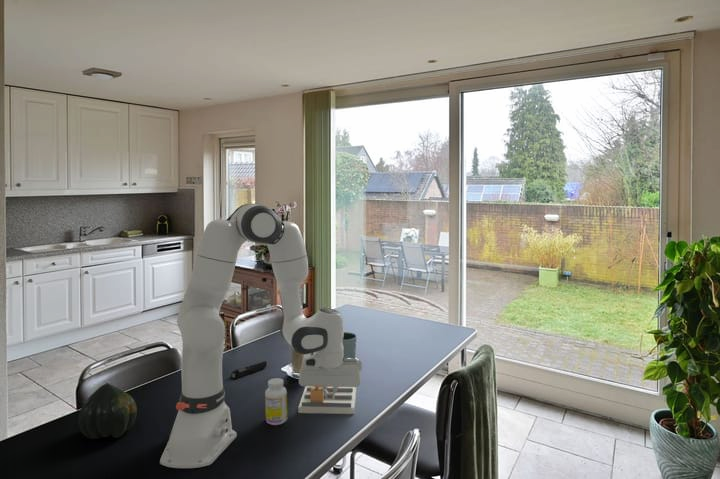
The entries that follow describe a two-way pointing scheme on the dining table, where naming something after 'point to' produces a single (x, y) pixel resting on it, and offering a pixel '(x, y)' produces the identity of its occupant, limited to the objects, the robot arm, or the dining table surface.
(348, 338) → the green cup
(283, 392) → the supplement bottle
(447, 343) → the dining table surface
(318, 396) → the tab
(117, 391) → the squash
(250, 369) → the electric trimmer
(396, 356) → the dining table surface
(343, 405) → the switch bank
